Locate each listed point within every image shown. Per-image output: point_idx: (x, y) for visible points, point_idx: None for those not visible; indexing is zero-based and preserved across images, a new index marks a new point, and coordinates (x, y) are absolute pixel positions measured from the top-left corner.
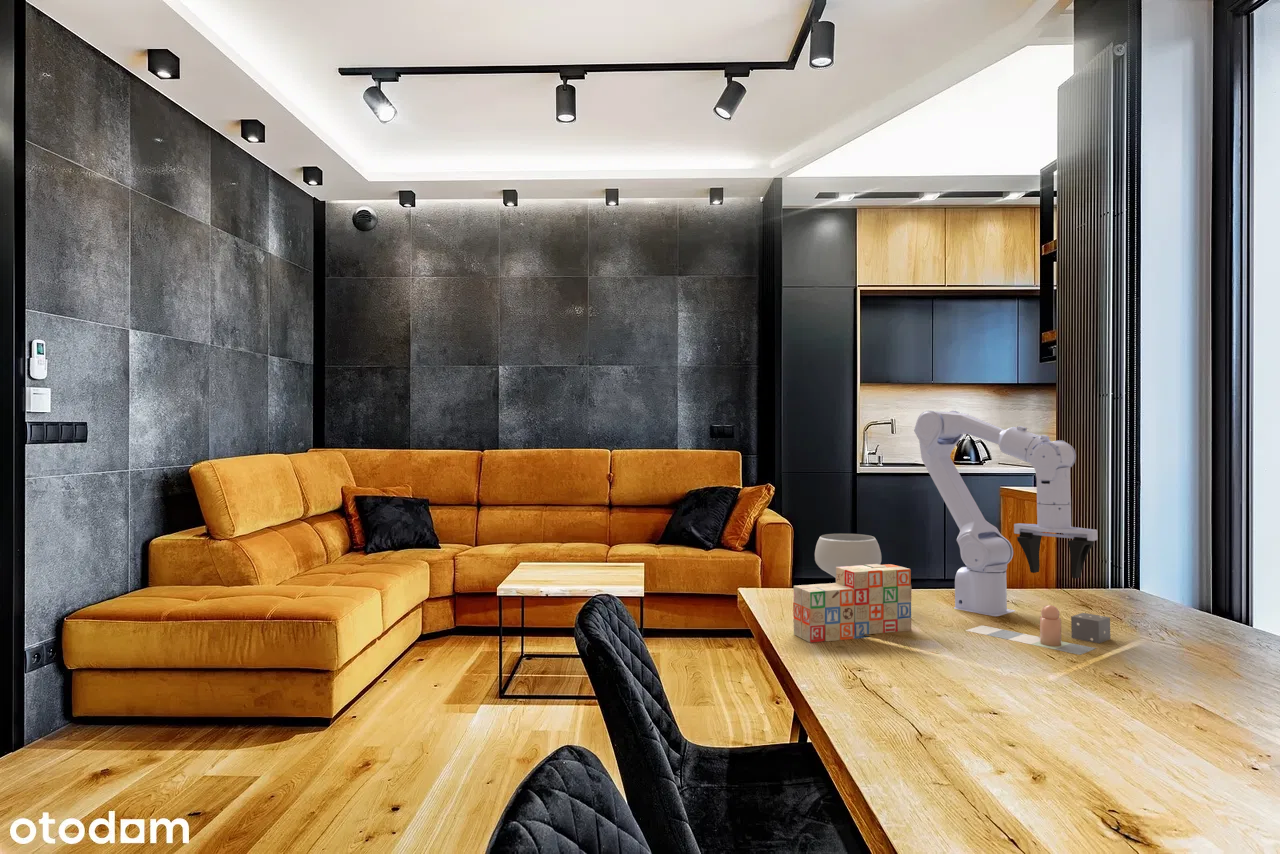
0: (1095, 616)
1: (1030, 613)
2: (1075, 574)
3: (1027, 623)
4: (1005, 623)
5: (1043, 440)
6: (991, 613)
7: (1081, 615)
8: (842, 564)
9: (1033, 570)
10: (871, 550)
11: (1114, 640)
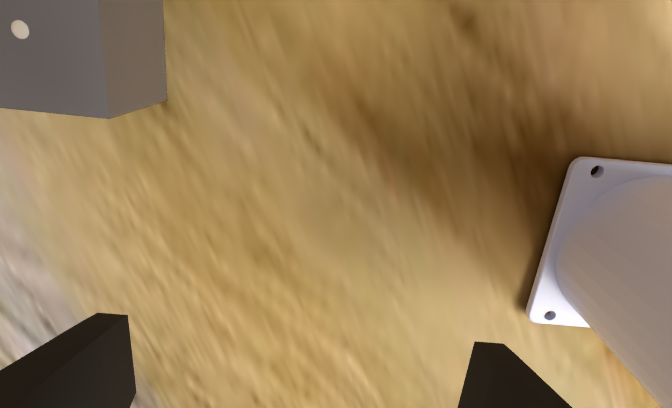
0: (12, 66)
1: None
2: (69, 331)
3: (434, 178)
4: (514, 106)
5: None
6: (609, 192)
7: (71, 29)
8: None
9: (484, 350)
10: None
11: (63, 138)
